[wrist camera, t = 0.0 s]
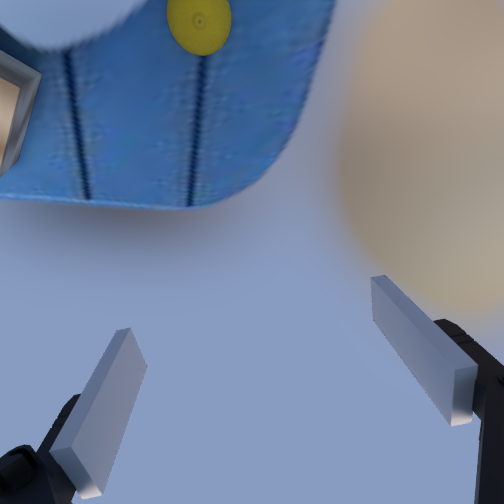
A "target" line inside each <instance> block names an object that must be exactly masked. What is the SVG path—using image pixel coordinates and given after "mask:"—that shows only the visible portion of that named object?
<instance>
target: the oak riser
mask: <svg viewBox="0 0 504 504" xmlns="http://www.w3.org/2000/svg"><path fill="white" fill-rule="evenodd" d="M41 76H42V74H41V73H39V72H37V71H36V70H34V69H32V68H31V67H29V66H27V65H25V64H24V63H22V62H20V61H19V60H17V59H15V58H13V57H12V56H10V55H8V54H6V53H5V52H3V51H1V50H0V177H1V176H2V175H3V174H4V173H5V172H6V171H7V170H9V169H10V168H11V167H12V166H13V165H14V164H15V163H16V162H17V161H18V158H19V155H20V151H21V148H22V144H23V140H24V137H25V133H26V130H27V126H28V123H29V119H30V115H31V112H32V108H33V105H34V101H35V98H36V94H37V90H38V87H39V83H40V80H41Z"/></svg>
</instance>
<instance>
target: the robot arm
mask: <svg viewBox="0 0 504 504" xmlns="http://www.w3.org/2000/svg"><path fill="white" fill-rule="evenodd" d="M371 292H372V310H373V321H374V322H375V323H376V325H377V326H378V327H379V329H380V330H381V332H382V333H383V334H384V336H385V337H386V339H387V340H388V341H389V342H390V344H391V345H392V347H393V348H394V349H395V351H396V352H397V354H398V355H399V356H400V358H401V359H402V360H403V362H404V363H405V365H406V366H407V367H408V369H409V370H410V371H411V373H412V374H413V375H414V377H415V378H416V379H417V381H418V382H419V384H420V385H421V386H422V388H423V389H424V390H425V392H426V393H427V394H428V396H429V397H430V399H431V400H432V401H433V403H434V404H435V405H436V407H437V408H438V410H439V411H440V412H441V414H442V415H443V417H444V418H445V419H446V421H447V422H448V423H449V425H450V426H455V425H460V424H465V423H470V422H472V414H473V411H474V413H475V414H476V415H477V416H478V417H479V418H480V420H481V427H480V435H479V453H478V465H477V476H476V489H475V501H474V504H504V366H503V365H502V364H501V363H500V362H499V361H497V360H496V359H495V358H494V357H493V356H492V355H491V354H490V353H488V352H487V351H486V350H485V349H484V348H483V347H482V346H481V345H479V344H478V343H477V342H476V341H474V339H473V338H471V337H470V336H469V335H467V334H466V332H465V331H464V330H462V329H461V328H460V327H459V326H458V325H456V324H454V323H452V322H450V321H448V320H446V319H440V320H436V321H432V320H431V319H430V318H429V317H428V316H427V315H426V314H425V313H424V312H423V311H422V310H421V309H420V308H419V307H418V306H417V305H416V304H415V303H414V302H413V301H411V299H409V298H408V297H407V296H406V295H405V294H404V293H403V292H402V291H401V290H400V289H399V288H398V287H397V286H396V285H395V284H394V283H393V282H392V281H391V280H390V279H389V278H388V277H387V276H385V275H381V276H377V277H371ZM146 368H147V364H146V362H145V360H144V358H143V355H142V353H141V351H140V349H139V346H138V344H137V342H136V339H135V337H134V335H133V333H132V330H131V328H126V329H121V330H117V331H116V333H115V334H114V336H113V338H112V340H111V342H110V343H109V345H108V347H107V349H106V350H105V353H104V354H103V356H102V358H101V359H100V361H99V363H98V365H97V367H96V369H95V370H94V372H93V374H92V376H91V377H90V379H89V381H88V383H87V384H86V387H85V388H84V390H83V392H82V393H81V394H78V395H74V396H73V397H72V398H71V399H70V400H69V401H68V402H67V403H66V404H65V405H64V407H63V408H62V410H61V412H60V413H59V415H58V418H57V419H56V420H55V422H54V424H53V425H52V428H50V430H49V432H48V434H47V435H46V437H45V438H44V440H43V442H42V444H41V445H40V447H39V449H38V450H37V452H35V451H34V450H33V448H32V447H31V446H30V445H22V446H18V447H16V448H14V449H12V450H10V451H9V452H7V453H6V454H5V455H3V456H2V457H1V458H0V504H72V502H71V500H72V498H73V496H74V493H75V491H76V490H77V492H78V493H79V495H80V496H81V498H82V499H86V498H92V497H96V496H102V495H103V492H104V489H105V487H106V484H107V481H108V478H109V475H110V472H111V469H112V466H113V464H114V461H115V458H116V455H117V452H118V449H119V446H120V443H121V441H122V438H123V435H124V432H125V429H126V426H127V423H128V421H129V418H130V414H131V412H132V409H133V406H134V403H135V400H136V397H137V394H138V392H139V389H140V386H141V383H142V380H143V377H144V374H145V371H146Z"/></svg>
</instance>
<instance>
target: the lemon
mask: <svg viewBox="0 0 504 504" xmlns="http://www.w3.org/2000/svg"><path fill="white" fill-rule="evenodd" d="M167 20H168V24H169V27H170V30H171V33H172V35H173V36H174V38H175V40H176V41H177V42H178V43H179V45H180V46H181V47H182V48H184V49H185V50H187V51H188V52H190V53H192V54H195V55H202V56H205V55H210V54H212V53H214V52H216V51H218V50H219V49H220V48H221V47H222V46H223V45H224V43H225V42H226V40H227V38H228V36H229V33H230V29H231V21H232V17H231V9H230V6H229V2H228V0H168V2H167Z"/></svg>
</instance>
